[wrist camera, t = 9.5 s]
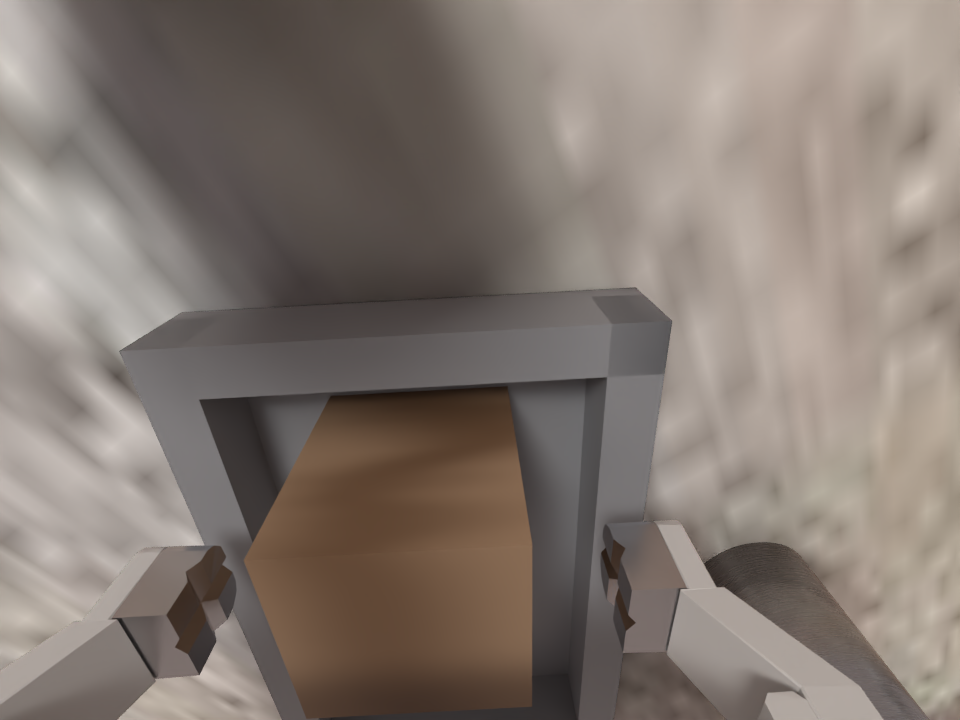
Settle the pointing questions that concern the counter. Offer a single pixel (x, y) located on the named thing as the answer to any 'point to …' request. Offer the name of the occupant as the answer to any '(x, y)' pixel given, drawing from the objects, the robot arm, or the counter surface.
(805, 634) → the metal cylinder
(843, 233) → the counter surface
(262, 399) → the parts tray
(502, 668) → the walnut block
